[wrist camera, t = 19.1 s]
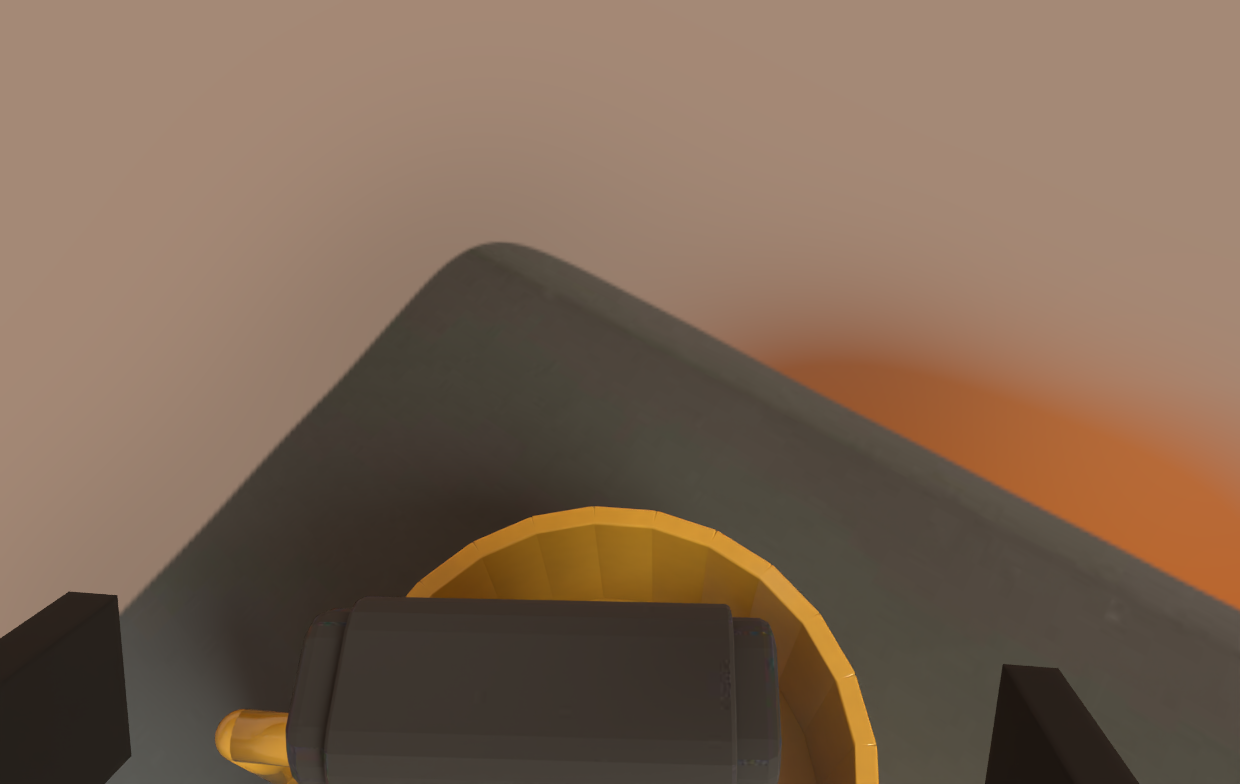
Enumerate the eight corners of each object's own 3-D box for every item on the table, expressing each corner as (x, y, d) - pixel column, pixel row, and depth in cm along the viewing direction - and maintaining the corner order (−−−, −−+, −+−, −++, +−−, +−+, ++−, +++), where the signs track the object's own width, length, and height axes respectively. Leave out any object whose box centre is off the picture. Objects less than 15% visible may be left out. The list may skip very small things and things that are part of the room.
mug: (830, 605, 34) (867, 524, 28) (840, 1100, 27) (895, 1133, 21) (335, 566, 35) (271, 481, 29) (216, 1028, 28) (98, 1040, 22)
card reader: (732, 744, 31) (787, 577, 18) (736, 884, 29) (801, 804, 16) (450, 737, 32) (313, 567, 19) (434, 874, 29) (266, 788, 17)
